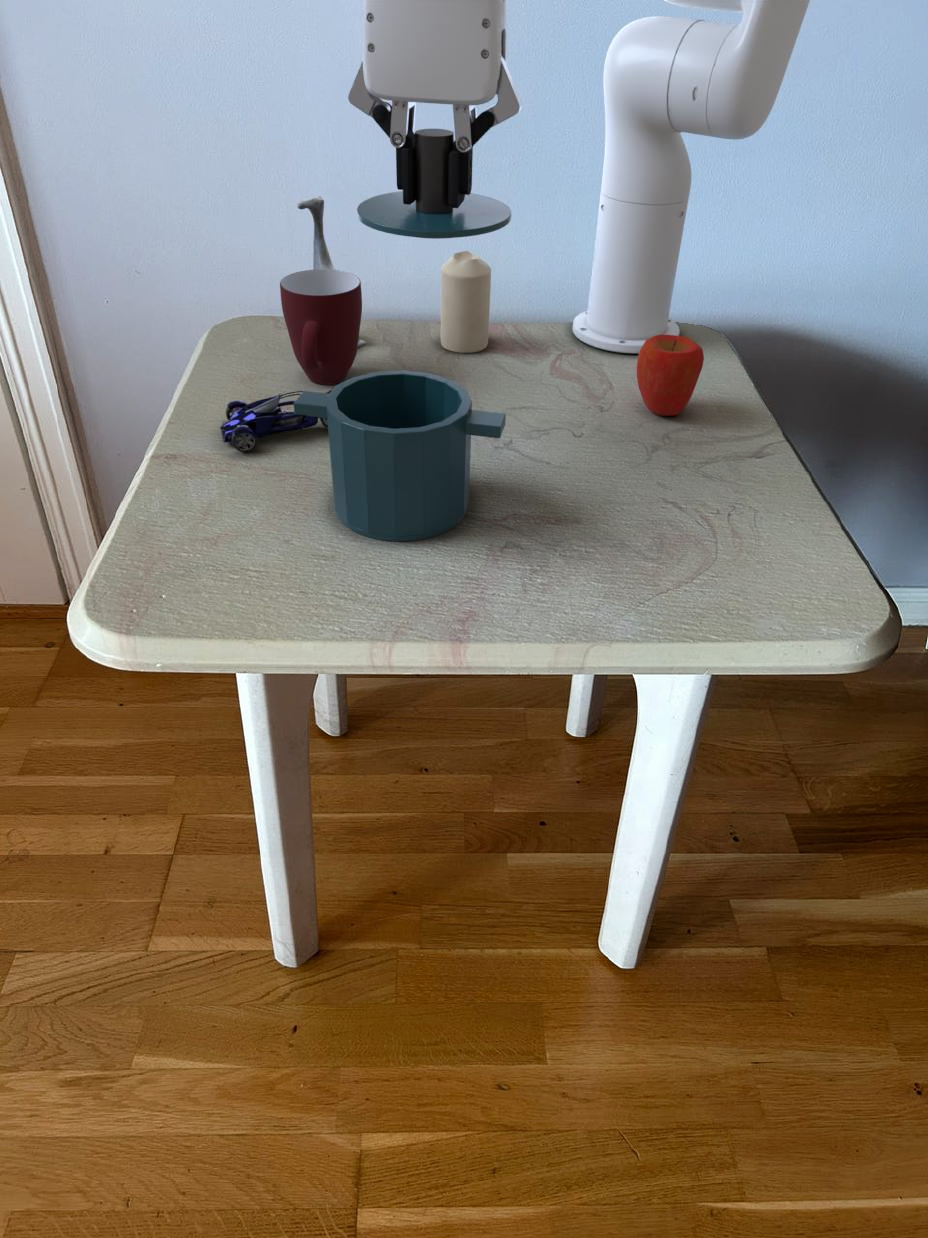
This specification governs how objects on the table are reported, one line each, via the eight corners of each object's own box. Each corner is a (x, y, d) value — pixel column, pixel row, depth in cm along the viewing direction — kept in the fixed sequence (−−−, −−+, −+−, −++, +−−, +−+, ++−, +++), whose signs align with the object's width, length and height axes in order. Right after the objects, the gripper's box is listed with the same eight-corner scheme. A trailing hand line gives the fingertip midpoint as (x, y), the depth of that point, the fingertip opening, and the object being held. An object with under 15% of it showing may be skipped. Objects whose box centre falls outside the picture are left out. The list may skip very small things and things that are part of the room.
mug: (361, 404, 90) (356, 305, 84) (280, 403, 90) (269, 304, 84) (367, 362, 99) (363, 269, 92) (294, 361, 98) (285, 268, 92)
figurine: (373, 361, 99) (367, 217, 90) (315, 365, 98) (303, 220, 88) (358, 325, 107) (351, 190, 98) (304, 329, 106) (292, 192, 97)
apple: (618, 408, 91) (628, 336, 86) (655, 392, 94) (667, 322, 90) (667, 430, 88) (681, 356, 83) (705, 412, 91) (720, 341, 86)
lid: (381, 198, 78) (378, 112, 74) (521, 209, 76) (526, 122, 72) (337, 238, 69) (331, 143, 64) (496, 252, 67) (500, 154, 63)
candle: (495, 350, 102) (499, 259, 96) (450, 355, 101) (451, 264, 94) (477, 332, 106) (480, 245, 100) (433, 338, 105) (434, 249, 98)
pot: (328, 461, 81) (320, 360, 75) (508, 484, 79) (515, 381, 73) (284, 526, 72) (271, 418, 67) (485, 554, 70) (490, 444, 64)
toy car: (224, 455, 81) (218, 416, 79) (218, 424, 86) (212, 386, 84) (354, 440, 84) (352, 401, 82) (341, 411, 89) (339, 373, 87)
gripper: (562, -89, 62) (542, 198, 73) (335, -96, 64) (349, 183, 75) (548, -88, 56) (528, 222, 67) (299, -96, 58) (321, 206, 70)
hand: (434, 199), depth 71 cm, fingers closed on lid, 3 cm apart
